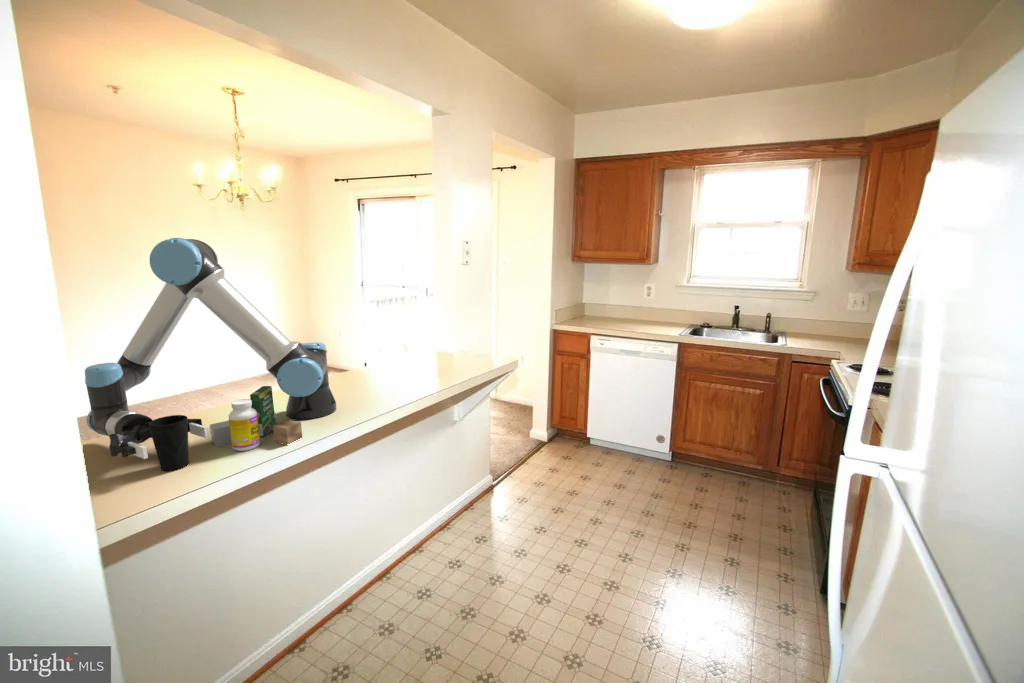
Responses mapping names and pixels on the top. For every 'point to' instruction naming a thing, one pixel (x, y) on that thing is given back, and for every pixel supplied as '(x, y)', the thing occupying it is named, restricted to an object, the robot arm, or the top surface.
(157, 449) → the cup
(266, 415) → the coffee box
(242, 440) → the supplement bottle
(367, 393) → the top surface
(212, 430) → the grey block
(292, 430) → the walnut block
